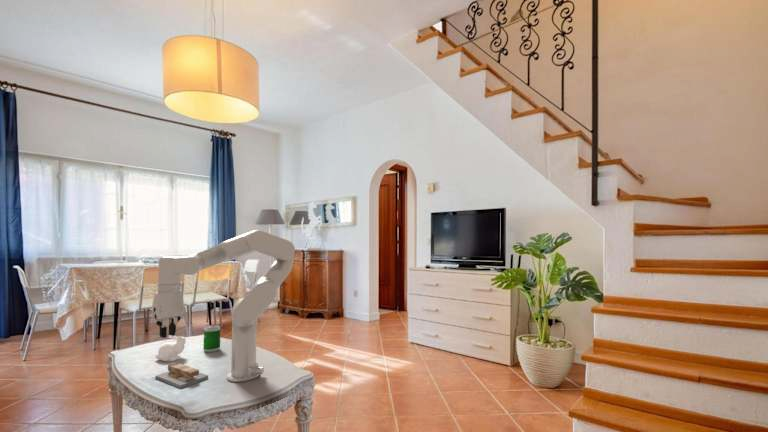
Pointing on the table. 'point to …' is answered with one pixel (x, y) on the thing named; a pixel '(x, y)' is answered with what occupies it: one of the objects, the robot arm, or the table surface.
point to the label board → (180, 379)
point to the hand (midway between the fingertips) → (167, 335)
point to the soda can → (212, 338)
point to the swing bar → (183, 370)
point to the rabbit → (171, 349)
